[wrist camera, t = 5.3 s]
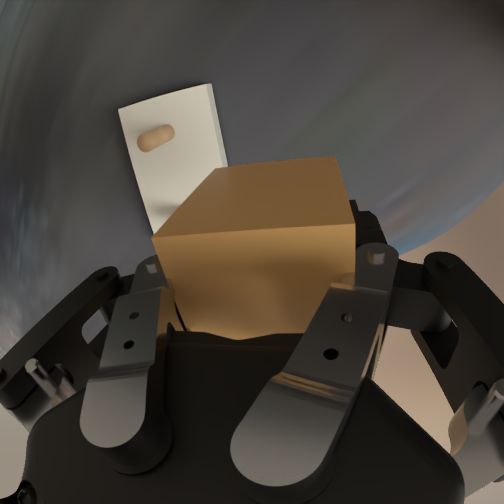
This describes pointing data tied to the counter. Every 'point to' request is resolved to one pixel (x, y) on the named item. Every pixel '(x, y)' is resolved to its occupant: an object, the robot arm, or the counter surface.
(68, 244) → the counter surface
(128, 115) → the base
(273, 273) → the light orange block
